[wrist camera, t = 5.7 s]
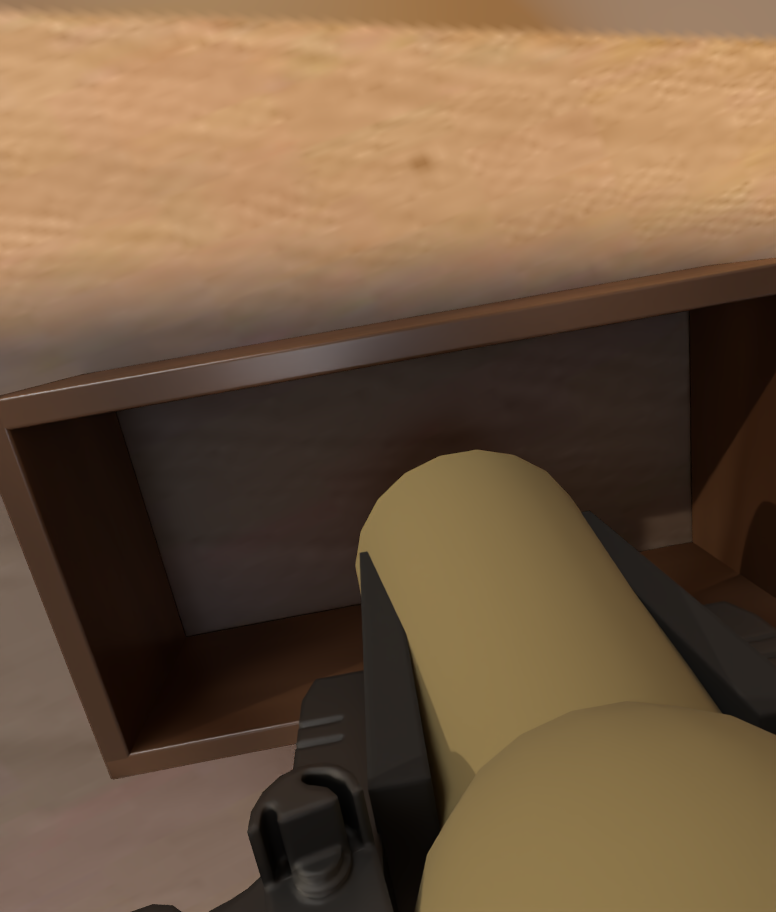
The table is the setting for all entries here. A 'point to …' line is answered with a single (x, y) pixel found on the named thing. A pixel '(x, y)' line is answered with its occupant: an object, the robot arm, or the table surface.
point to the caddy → (340, 630)
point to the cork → (560, 711)
